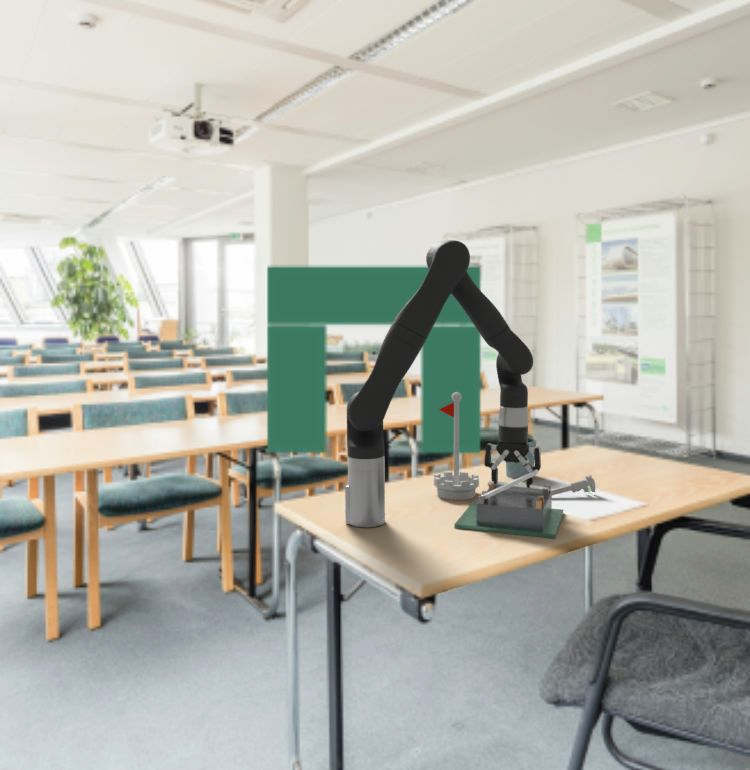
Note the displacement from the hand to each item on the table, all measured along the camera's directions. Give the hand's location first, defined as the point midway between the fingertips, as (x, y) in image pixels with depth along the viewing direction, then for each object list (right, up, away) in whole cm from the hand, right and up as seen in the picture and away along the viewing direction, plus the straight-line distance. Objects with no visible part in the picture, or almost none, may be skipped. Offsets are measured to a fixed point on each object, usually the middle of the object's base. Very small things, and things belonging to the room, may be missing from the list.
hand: (512, 484), depth 177 cm
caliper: (+17, -6, +16) cm, 24 cm away
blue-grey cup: (+11, -3, +40) cm, 42 cm away
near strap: (-3, +1, -12) cm, 12 cm away
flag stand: (-12, -6, +19) cm, 24 cm away
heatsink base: (-1, -8, -6) cm, 10 cm away
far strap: (+2, -1, 0) cm, 2 cm away
